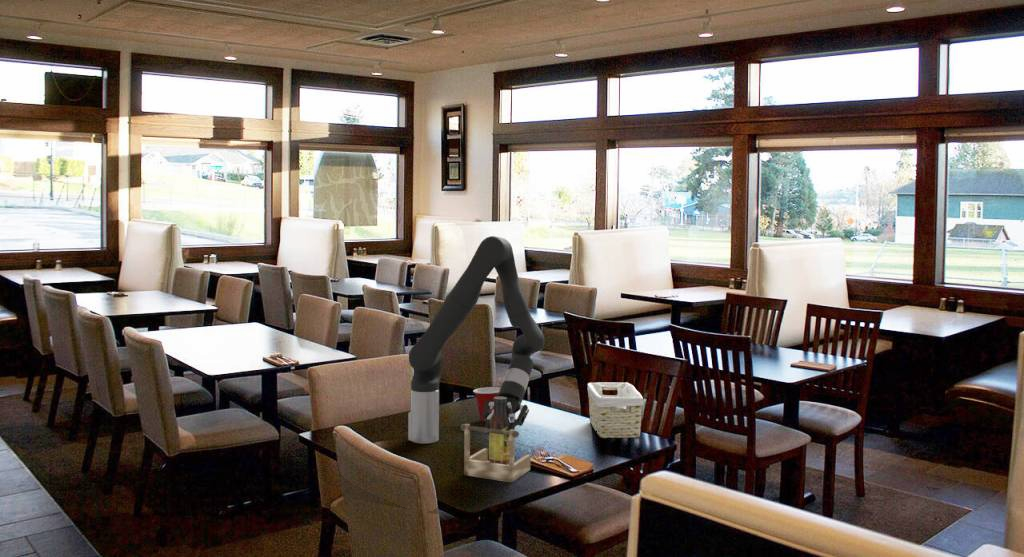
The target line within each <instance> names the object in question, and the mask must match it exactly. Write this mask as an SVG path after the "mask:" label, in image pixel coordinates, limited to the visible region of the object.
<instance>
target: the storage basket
mask: <svg viewBox="0 0 1024 557" xmlns="http://www.w3.org/2000/svg"><path fill="white" fill-rule="evenodd" d="M603 391H617V393H616V394H615V395H612V394H609V395H608V394H603ZM587 394H588V396H587V397H588V405H589V408H588V410H589V421H590V423H591V426H592V428H593V429H594V431H595V432H596V431H597V432H596V433H597V435H598V437H600V438H602V439H608V438H609V439H615V438H616V439H622V438H623V439H629V438H630V439H634V438H640V436H641V430H642V429H641V426H642V417H643V416H642V415H643V414H642V412H643V406H644V398H643V396H642V394H641V393H640V392H639V391H638V390H637V389H636V387H635V386H634V385H633V384H632V383H629V382H628V381H626V382H601V381H599V382H588V383H587Z"/></svg>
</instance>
